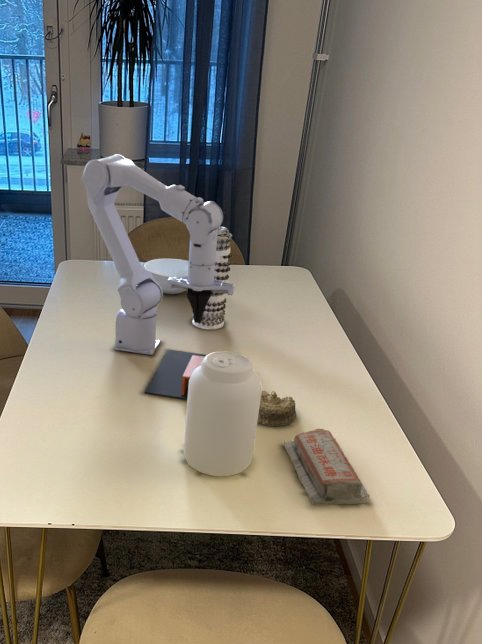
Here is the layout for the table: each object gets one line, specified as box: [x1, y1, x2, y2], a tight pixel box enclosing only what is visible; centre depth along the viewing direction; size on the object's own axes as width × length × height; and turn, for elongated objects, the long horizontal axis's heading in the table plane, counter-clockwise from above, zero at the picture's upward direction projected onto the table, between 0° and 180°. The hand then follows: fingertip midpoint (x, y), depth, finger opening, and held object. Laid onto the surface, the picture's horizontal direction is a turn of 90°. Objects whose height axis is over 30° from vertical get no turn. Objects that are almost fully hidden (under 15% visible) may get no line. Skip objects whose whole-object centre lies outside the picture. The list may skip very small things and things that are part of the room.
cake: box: [257, 390, 298, 427], centre depth 131 cm, size 10×10×5 cm
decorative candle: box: [191, 225, 233, 330], centre depth 165 cm, size 9×9×25 cm
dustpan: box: [181, 355, 204, 395], centre depth 142 cm, size 4×17×9 cm
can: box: [183, 350, 263, 477], centre depth 113 cm, size 12×12×20 cm
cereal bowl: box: [143, 257, 189, 295], centre depth 190 cm, size 17×17×7 cm
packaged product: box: [283, 428, 370, 506], centre depth 114 cm, size 18×5×10 cm
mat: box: [144, 349, 207, 401], centre depth 145 cm, size 18×22×1 cm
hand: (198, 321), depth 146 cm, fingers closed
